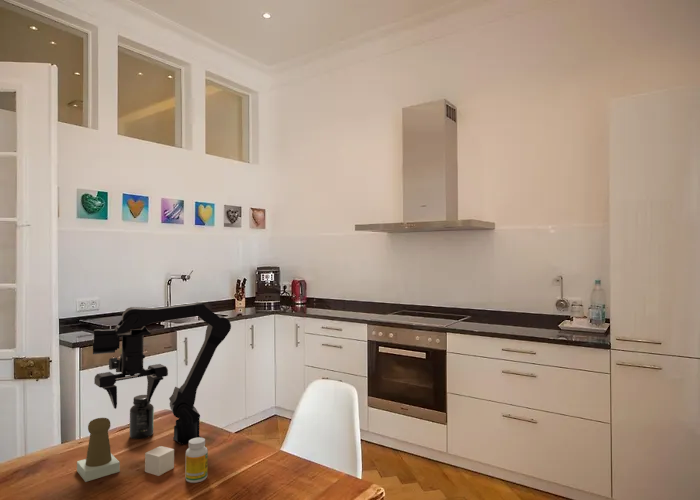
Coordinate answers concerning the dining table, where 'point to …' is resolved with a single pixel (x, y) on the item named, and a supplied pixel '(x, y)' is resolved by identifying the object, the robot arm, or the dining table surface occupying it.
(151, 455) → the brick
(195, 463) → the supplement bottle
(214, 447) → the dining table surface
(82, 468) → the base brick
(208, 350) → the robot arm
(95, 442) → the cork
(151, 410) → the supplement bottle
